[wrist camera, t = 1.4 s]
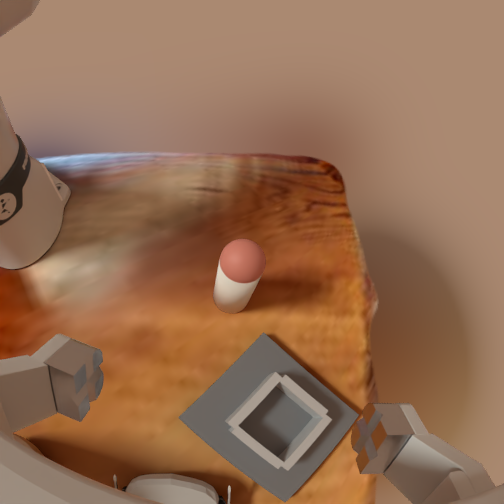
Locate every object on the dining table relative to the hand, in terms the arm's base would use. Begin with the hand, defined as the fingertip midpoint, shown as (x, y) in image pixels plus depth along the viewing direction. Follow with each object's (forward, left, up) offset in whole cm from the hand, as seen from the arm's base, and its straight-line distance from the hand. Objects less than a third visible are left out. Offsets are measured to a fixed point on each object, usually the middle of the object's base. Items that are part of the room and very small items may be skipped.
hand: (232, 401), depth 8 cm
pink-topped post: (-7, +11, -27) cm, 30 cm away
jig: (+7, +3, -27) cm, 28 cm away
